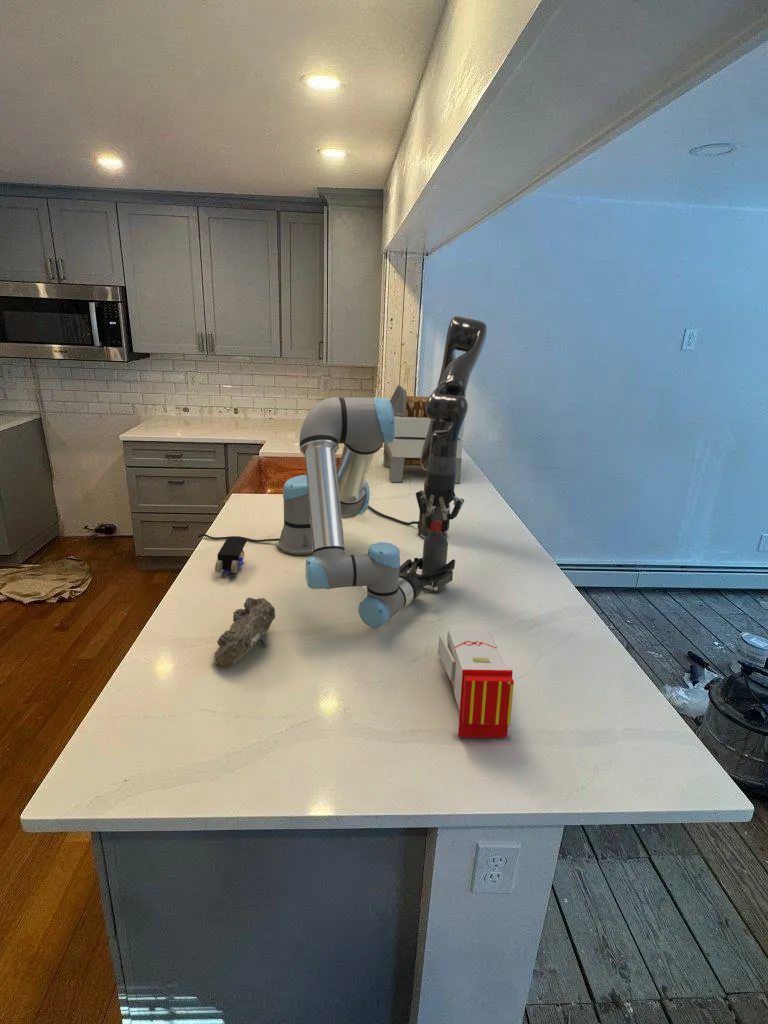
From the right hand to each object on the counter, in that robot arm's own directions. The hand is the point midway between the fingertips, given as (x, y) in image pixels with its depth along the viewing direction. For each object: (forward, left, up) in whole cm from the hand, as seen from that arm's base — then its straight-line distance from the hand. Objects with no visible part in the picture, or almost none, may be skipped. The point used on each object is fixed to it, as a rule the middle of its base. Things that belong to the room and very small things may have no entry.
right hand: (436, 529), depth 157 cm
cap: (0, 0, +2) cm, 2 cm away
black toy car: (-51, -29, -18) cm, 62 cm away
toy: (+30, -36, -18) cm, 50 cm away
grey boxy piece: (-66, +99, -18) cm, 121 cm away
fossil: (-19, -52, -18) cm, 58 cm away
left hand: (0, +5, -11) cm, 12 cm away
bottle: (0, 0, -18) cm, 18 cm away
